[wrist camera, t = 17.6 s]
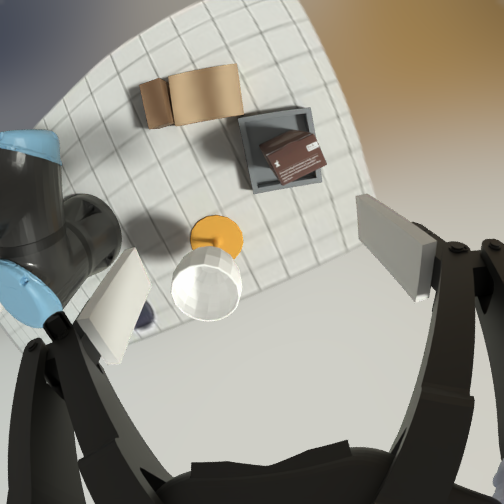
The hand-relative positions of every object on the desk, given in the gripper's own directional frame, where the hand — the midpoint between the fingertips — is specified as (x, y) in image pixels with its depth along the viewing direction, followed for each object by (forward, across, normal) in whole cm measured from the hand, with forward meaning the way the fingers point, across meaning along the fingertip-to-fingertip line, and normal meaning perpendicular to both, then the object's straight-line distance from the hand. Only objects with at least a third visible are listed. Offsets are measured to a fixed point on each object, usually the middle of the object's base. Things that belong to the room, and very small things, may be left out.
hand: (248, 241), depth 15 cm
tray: (+28, +7, +1) cm, 29 cm away
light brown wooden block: (+29, -2, +12) cm, 32 cm away
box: (+28, +7, +1) cm, 29 cm away
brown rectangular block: (+29, -9, +13) cm, 33 cm away
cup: (+29, -7, -11) cm, 32 cm away
